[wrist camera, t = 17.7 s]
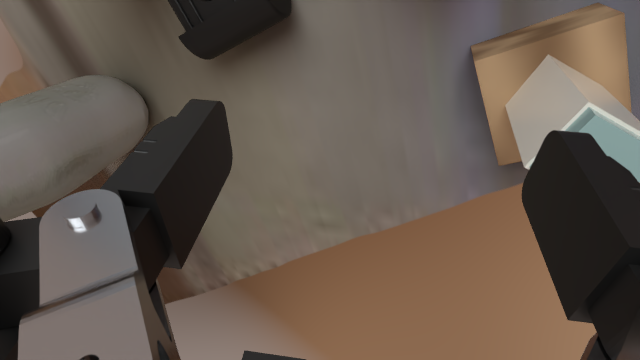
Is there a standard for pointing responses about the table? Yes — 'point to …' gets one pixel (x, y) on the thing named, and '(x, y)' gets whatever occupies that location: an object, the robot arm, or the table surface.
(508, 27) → the table surface
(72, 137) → the glass bottle
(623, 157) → the cream carton
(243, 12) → the end cap
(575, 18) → the oak box
